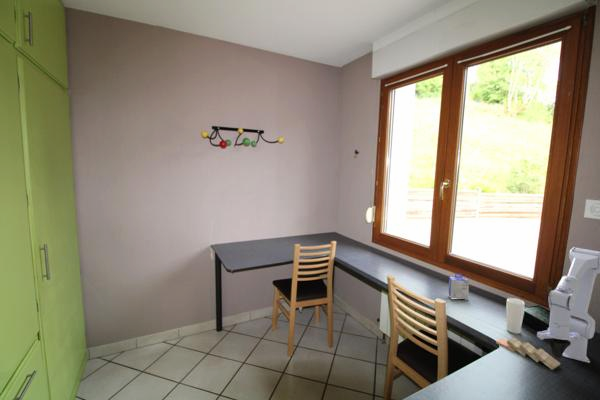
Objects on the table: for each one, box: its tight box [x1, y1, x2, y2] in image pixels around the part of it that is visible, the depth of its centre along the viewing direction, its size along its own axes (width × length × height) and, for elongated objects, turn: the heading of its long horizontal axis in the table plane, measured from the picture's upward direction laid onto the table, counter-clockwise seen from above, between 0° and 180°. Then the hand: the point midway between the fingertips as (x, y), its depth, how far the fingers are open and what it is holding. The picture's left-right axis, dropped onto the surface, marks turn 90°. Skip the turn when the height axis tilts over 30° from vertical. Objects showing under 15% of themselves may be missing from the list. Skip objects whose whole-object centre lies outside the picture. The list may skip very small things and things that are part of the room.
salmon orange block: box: [495, 337, 517, 353], centre depth 124 cm, size 2×5×7 cm
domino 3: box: [533, 348, 561, 371], centre depth 112 cm, size 2×5×7 cm
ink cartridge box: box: [448, 273, 470, 301], centre depth 169 cm, size 10×6×14 cm, turn 78°
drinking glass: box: [505, 297, 525, 335], centre depth 134 cm, size 7×7×15 cm
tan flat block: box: [519, 341, 541, 363], centre depth 116 cm, size 2×5×7 cm
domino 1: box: [507, 337, 528, 357], centre depth 120 cm, size 2×5×7 cm
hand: (556, 356), depth 109 cm, fingers closed
